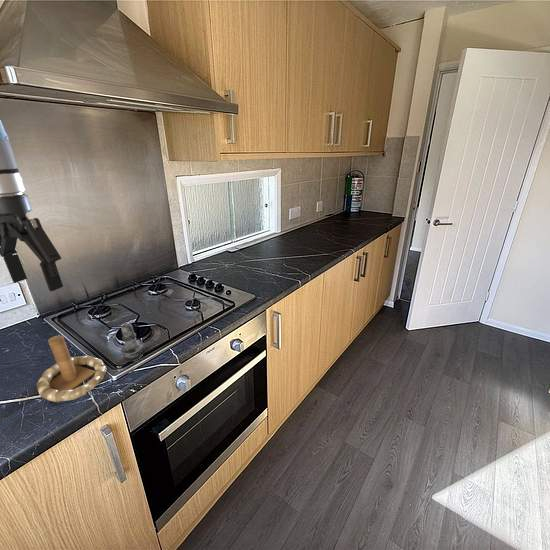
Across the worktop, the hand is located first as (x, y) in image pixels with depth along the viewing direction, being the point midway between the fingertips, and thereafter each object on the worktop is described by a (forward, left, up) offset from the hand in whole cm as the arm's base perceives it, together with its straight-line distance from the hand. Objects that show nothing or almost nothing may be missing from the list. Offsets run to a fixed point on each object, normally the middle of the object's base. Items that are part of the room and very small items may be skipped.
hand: (37, 284), depth 71 cm
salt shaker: (+14, +9, -26) cm, 31 cm away
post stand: (+6, -4, -25) cm, 26 cm away
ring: (+7, -4, -23) cm, 25 cm away
